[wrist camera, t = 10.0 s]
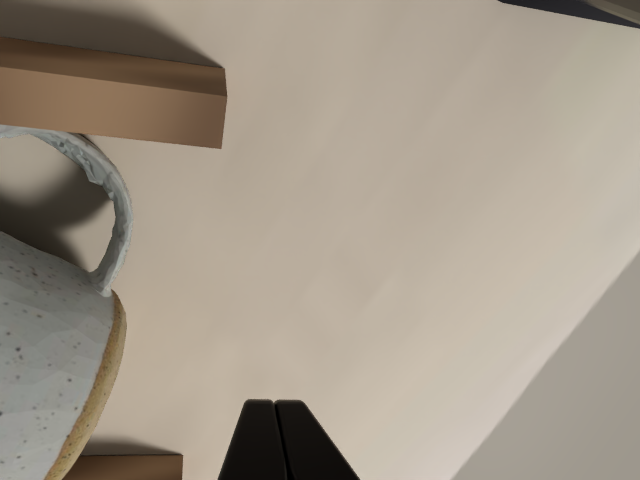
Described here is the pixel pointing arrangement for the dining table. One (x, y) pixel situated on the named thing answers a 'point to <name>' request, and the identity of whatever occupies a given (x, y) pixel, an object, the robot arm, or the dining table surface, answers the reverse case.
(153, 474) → the walnut bay
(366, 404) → the dining table surface
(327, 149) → the dining table surface
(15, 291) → the ceramic mug
